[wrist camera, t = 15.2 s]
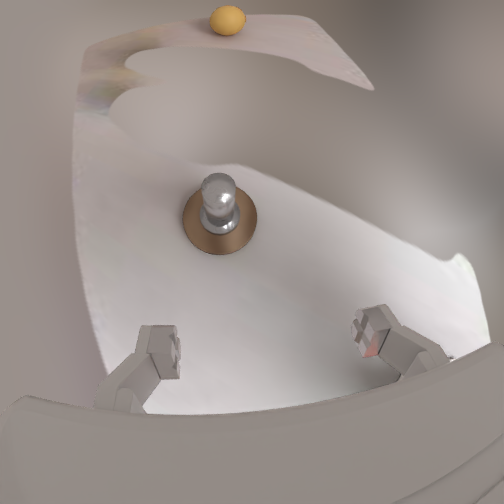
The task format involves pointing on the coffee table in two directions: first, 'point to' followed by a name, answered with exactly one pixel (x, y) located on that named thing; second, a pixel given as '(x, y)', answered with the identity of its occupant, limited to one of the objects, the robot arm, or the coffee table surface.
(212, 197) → the knob
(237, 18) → the stress ball
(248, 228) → the base disc
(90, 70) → the coffee table surface
